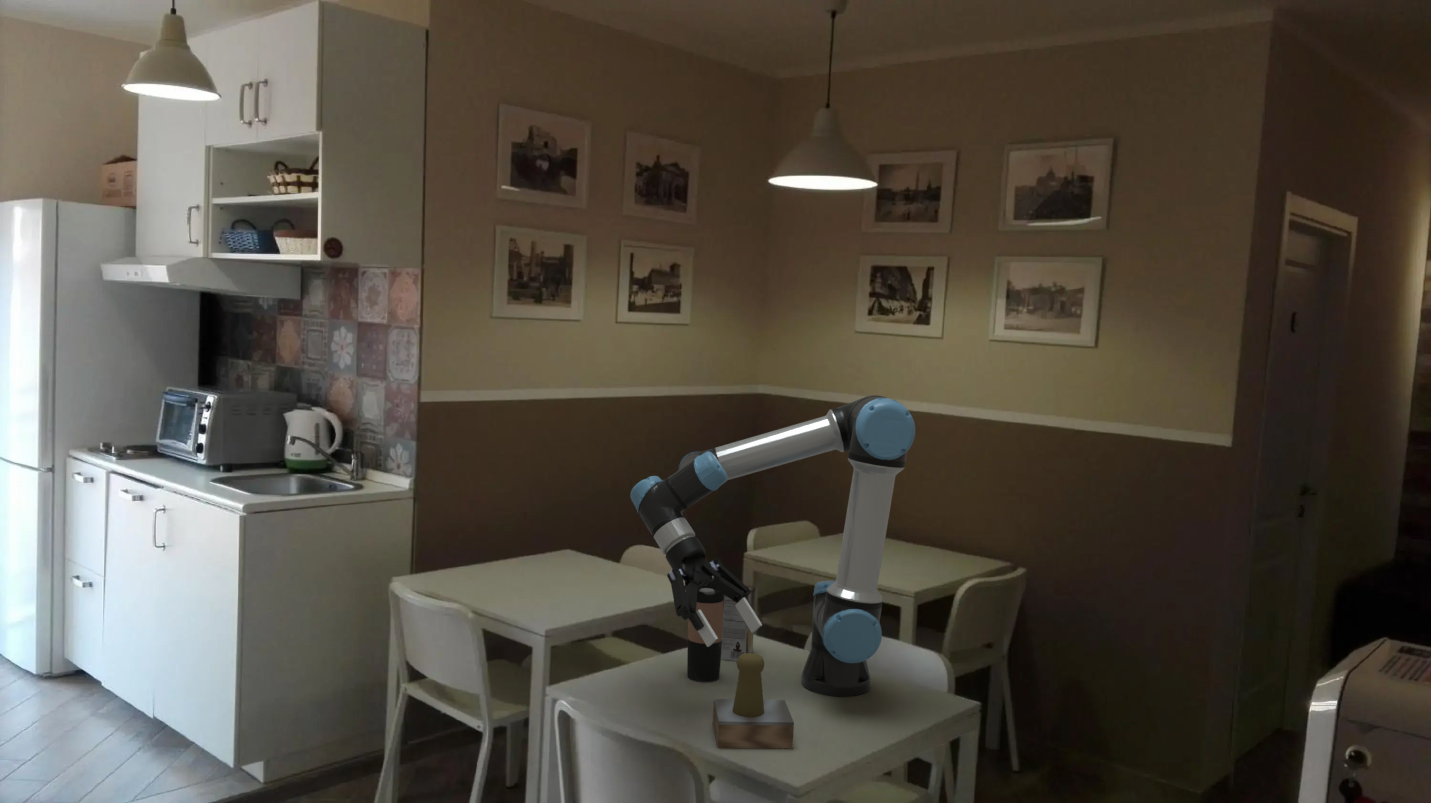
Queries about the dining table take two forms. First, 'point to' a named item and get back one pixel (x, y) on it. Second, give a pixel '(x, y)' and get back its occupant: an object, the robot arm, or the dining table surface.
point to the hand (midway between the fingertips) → (735, 635)
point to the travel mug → (700, 657)
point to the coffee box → (736, 629)
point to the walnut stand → (753, 726)
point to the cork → (749, 686)
